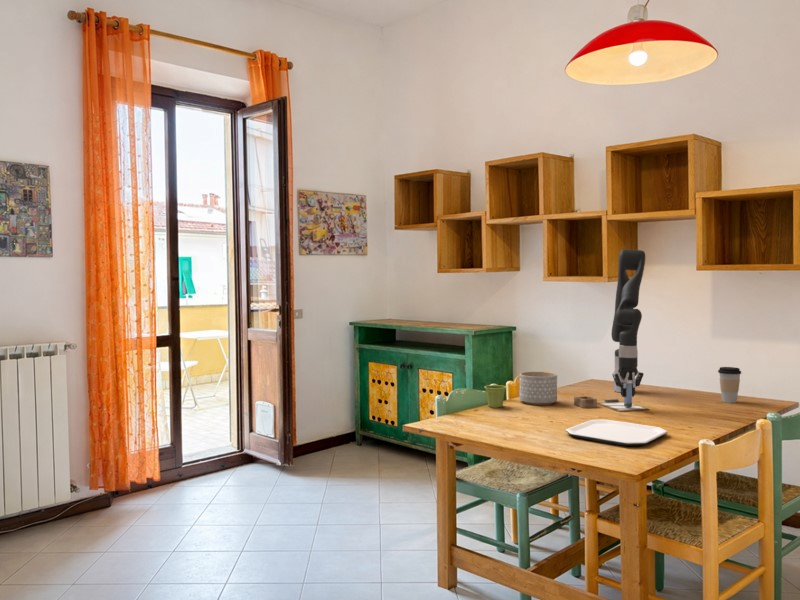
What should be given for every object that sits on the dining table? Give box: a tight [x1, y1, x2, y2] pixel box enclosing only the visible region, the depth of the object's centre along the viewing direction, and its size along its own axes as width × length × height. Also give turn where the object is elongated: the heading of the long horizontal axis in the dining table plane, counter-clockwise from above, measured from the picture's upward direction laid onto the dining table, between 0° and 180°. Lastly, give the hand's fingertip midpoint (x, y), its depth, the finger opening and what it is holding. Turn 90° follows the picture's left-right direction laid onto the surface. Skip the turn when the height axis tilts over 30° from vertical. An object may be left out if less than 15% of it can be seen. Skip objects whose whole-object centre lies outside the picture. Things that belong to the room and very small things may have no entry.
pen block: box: [573, 395, 598, 409], centre depth 284 cm, size 7×7×4 cm
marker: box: [623, 380, 633, 407], centre depth 277 cm, size 3×3×11 cm
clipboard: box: [597, 398, 650, 413], centre depth 282 cm, size 18×14×2 cm
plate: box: [565, 419, 669, 447], centre depth 232 cm, size 29×29×2 cm
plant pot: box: [484, 384, 507, 409], centre depth 284 cm, size 9×9×9 cm
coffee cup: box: [717, 366, 742, 404], centre depth 291 cm, size 9×9×15 cm
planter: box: [519, 371, 558, 406], centre depth 293 cm, size 16×16×13 cm
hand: (627, 396), depth 277 cm, fingers closed on marker, 3 cm apart
